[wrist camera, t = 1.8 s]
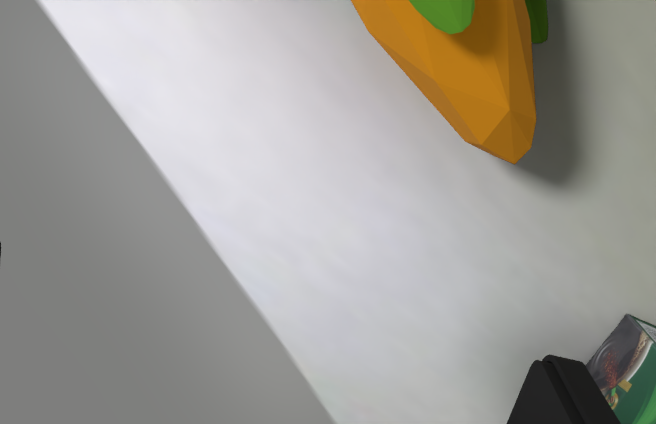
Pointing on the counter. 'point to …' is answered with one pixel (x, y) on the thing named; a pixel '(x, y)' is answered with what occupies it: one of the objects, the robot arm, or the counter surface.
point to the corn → (468, 62)
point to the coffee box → (628, 371)
